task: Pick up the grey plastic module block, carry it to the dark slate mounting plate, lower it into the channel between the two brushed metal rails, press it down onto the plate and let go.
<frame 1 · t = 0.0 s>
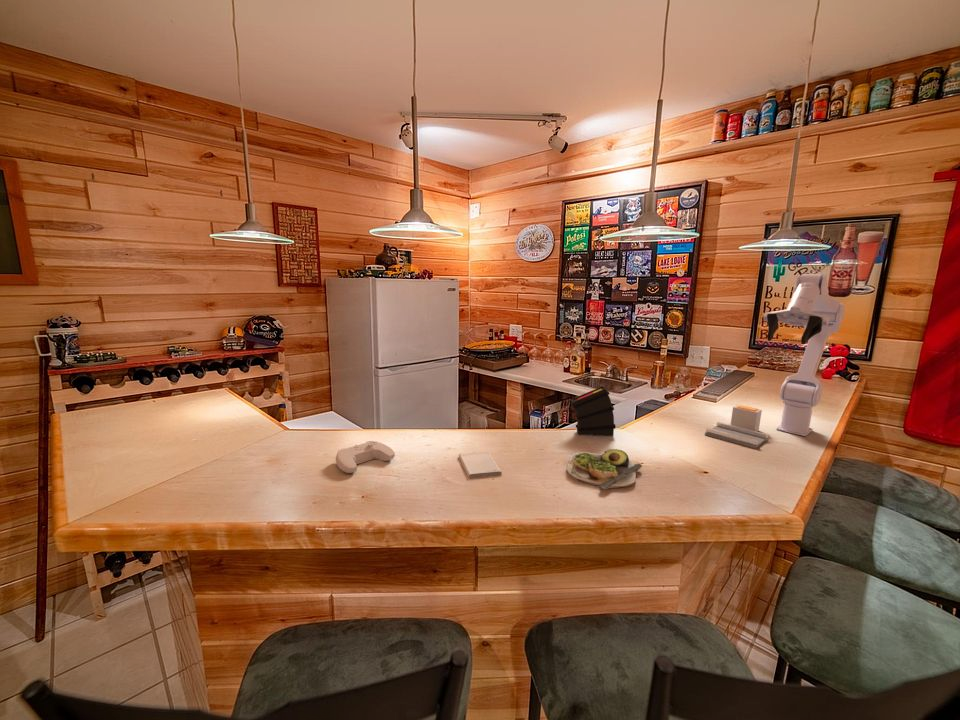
hand: (785, 340, 114), 32 cm above the counter, fingers open, 7 cm apart
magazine: (591, 434, 132), on the counter
rail mount: (735, 437, 131), on the counter
module block: (744, 428, 139), on the counter
hard drive: (479, 468, 108), on the counter
avocado toast plate: (602, 473, 106), on the counter
game controller: (364, 464, 109), on the counter
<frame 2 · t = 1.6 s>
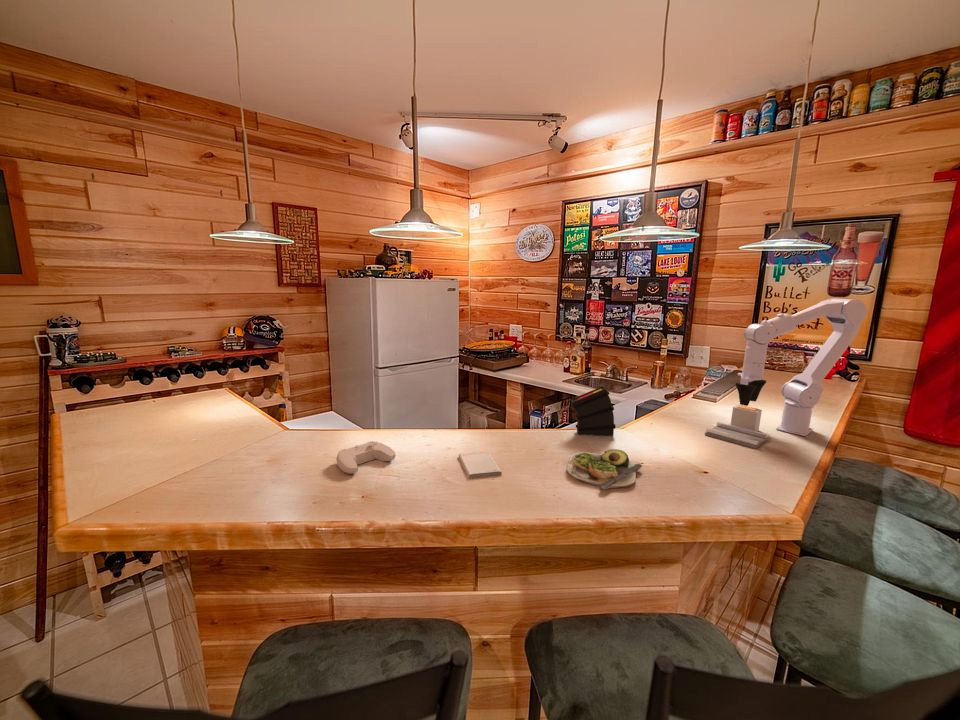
hand: (748, 402, 137), 9 cm above the counter, fingers open, 7 cm apart
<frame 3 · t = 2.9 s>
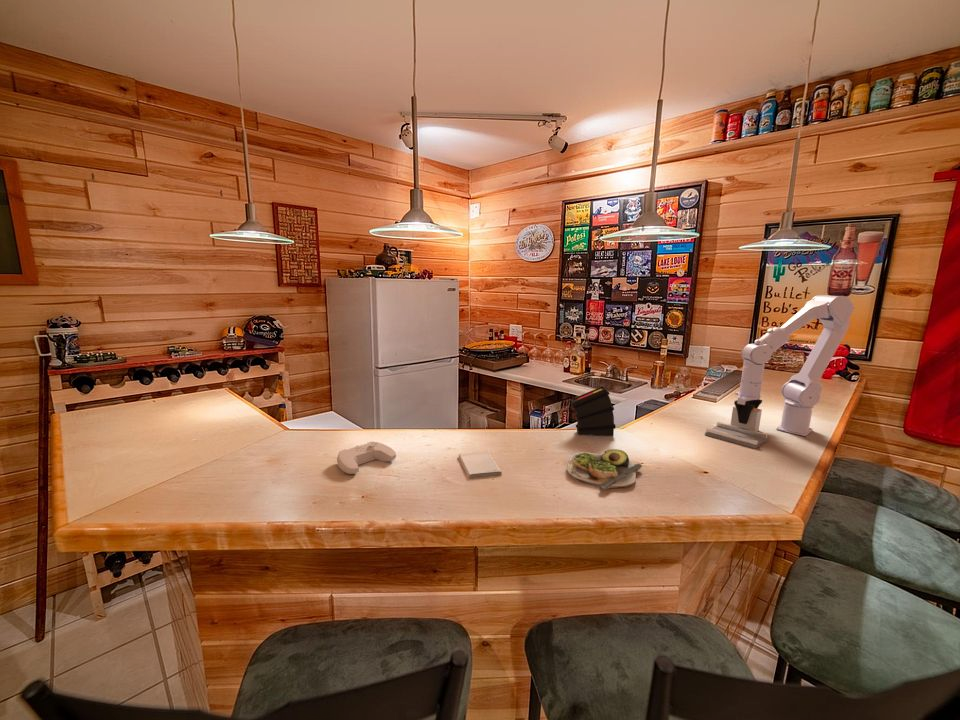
hand: (745, 421, 138), 2 cm above the counter, fingers closed on module block, 4 cm apart
module block: (744, 428, 139), on the counter, touching gripper
everything else where it was.
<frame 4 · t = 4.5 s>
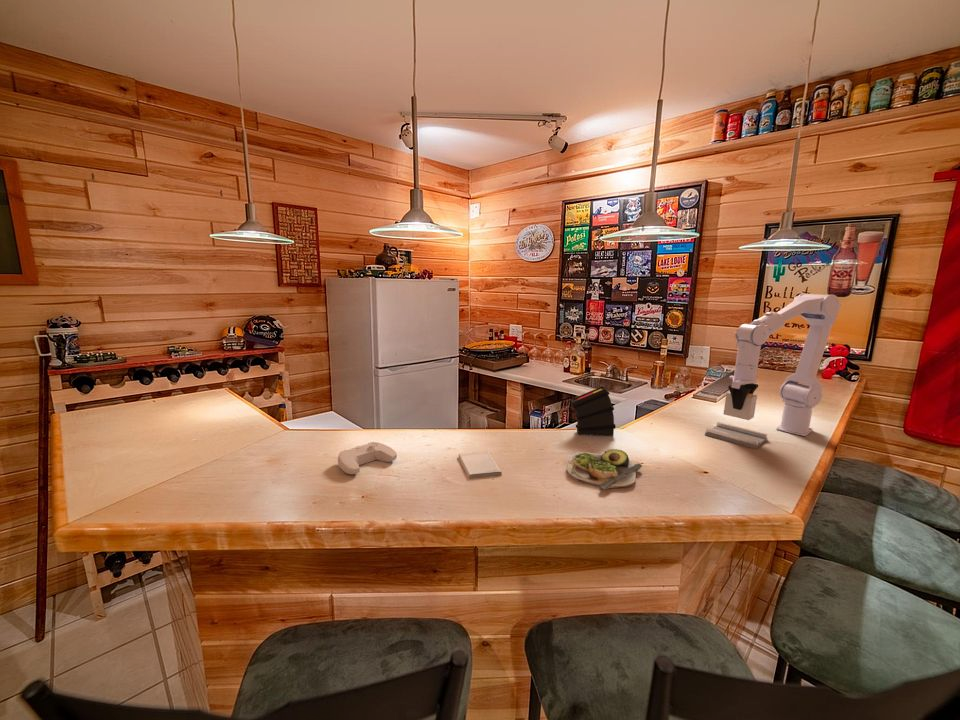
hand: (740, 407, 130), 9 cm above the counter, fingers closed on module block, 4 cm apart
module block: (738, 415, 130), point 7 cm above the counter, touching gripper
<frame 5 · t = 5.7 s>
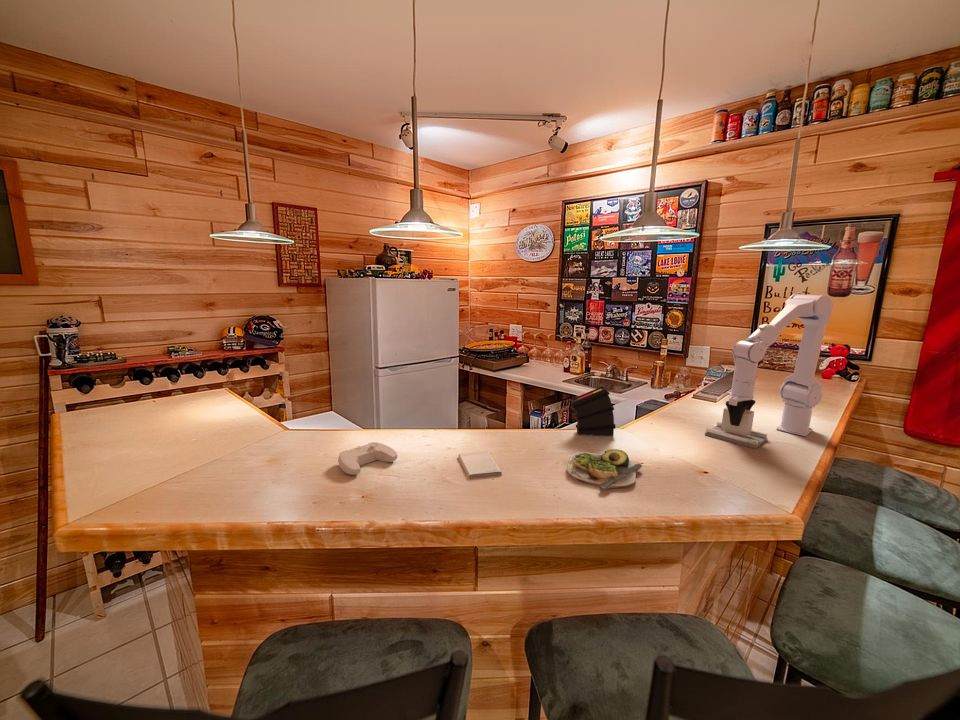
hand: (737, 423, 130), 5 cm above the counter, fingers closed on module block, 4 cm apart
module block: (735, 431, 131), point 2 cm above the counter, touching gripper
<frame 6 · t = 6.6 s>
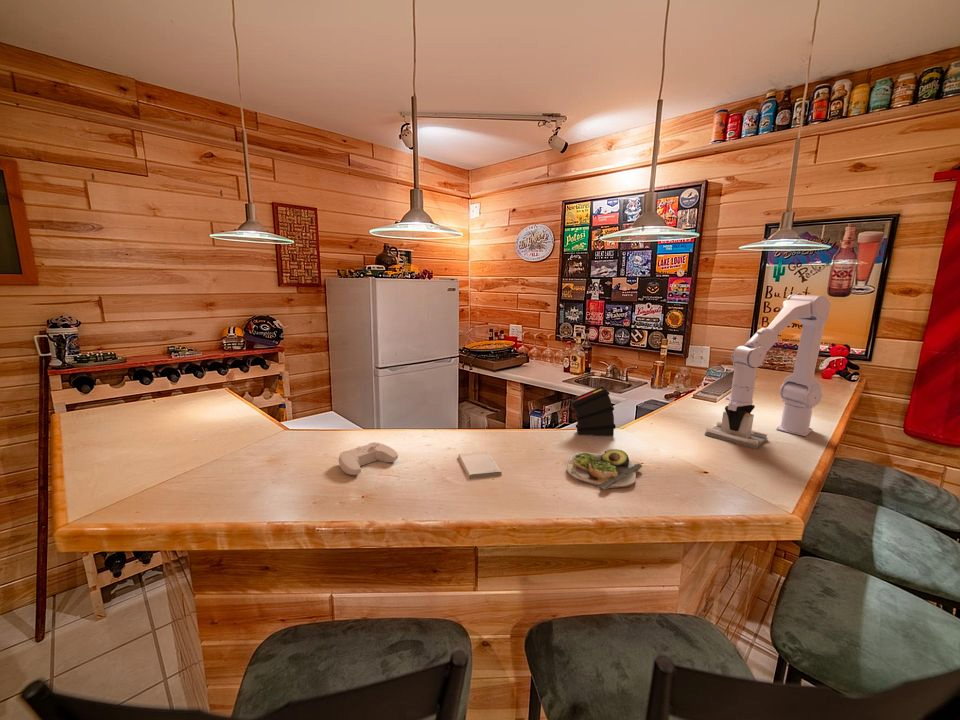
hand: (736, 428, 130), 3 cm above the counter, fingers closed on module block, 4 cm apart
module block: (735, 434, 131), point 1 cm above the counter, touching gripper, rail mount
when the fingers open (3 cm above the counter, at t = 6.6 s): module block stays where it is, resting on rail mount.
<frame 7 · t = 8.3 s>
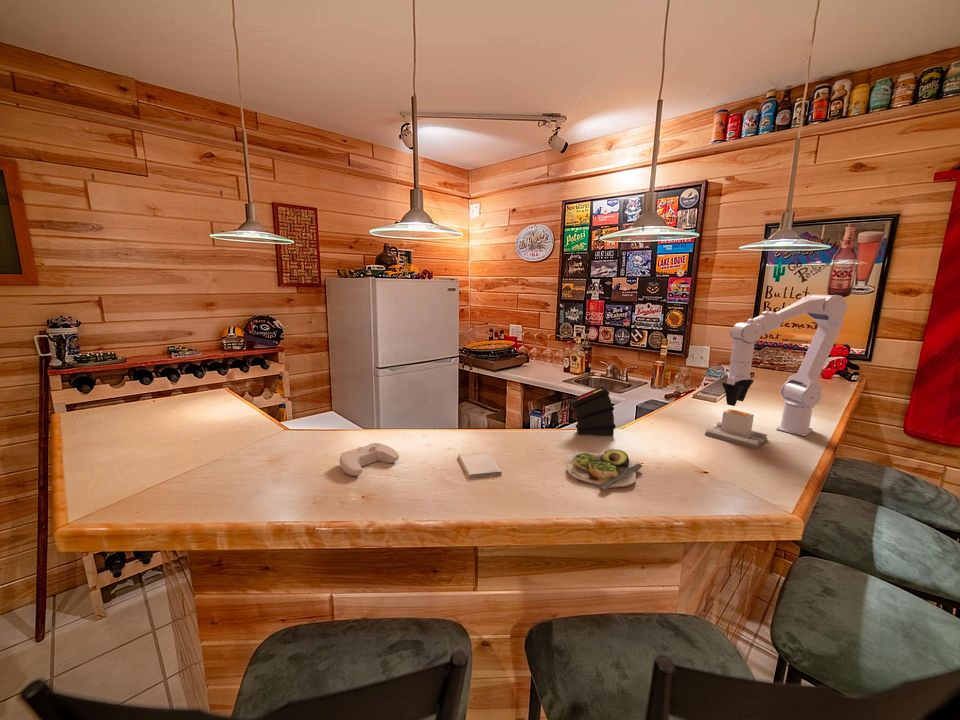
hand: (735, 402, 135), 9 cm above the counter, fingers open, 7 cm apart
module block: (735, 434, 131), point 1 cm above the counter, touching rail mount
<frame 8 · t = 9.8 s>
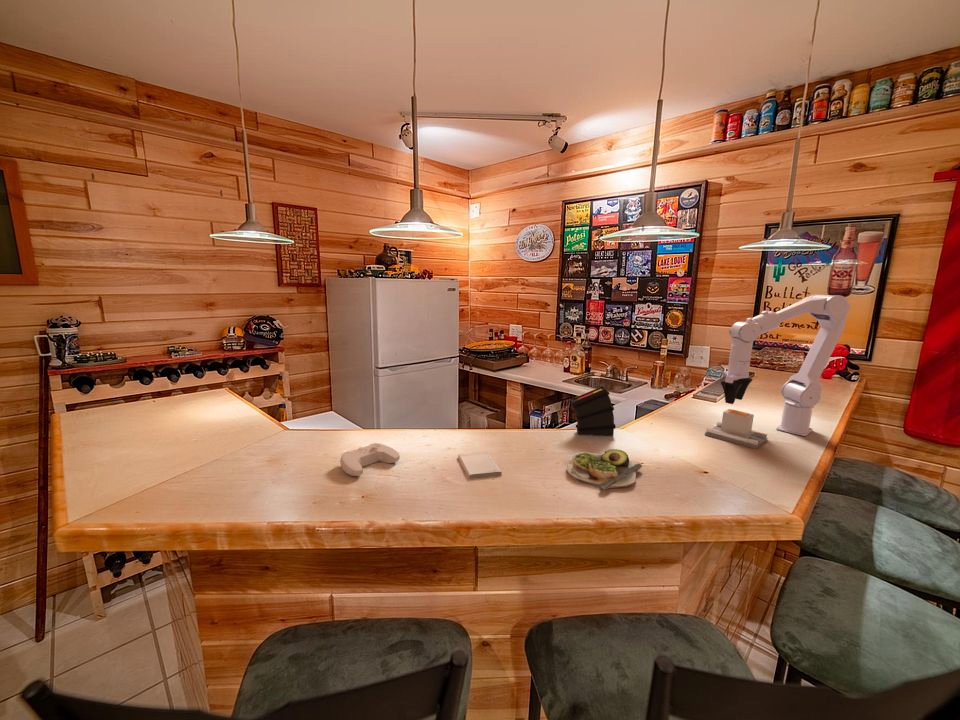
hand: (733, 401, 137), 9 cm above the counter, fingers open, 7 cm apart
at the end: module block 0.2 cm off-centre on the rail mount, point 0.8 cm above the rail mount's base; module block tilted 0°; the gripper is holding nothing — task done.
